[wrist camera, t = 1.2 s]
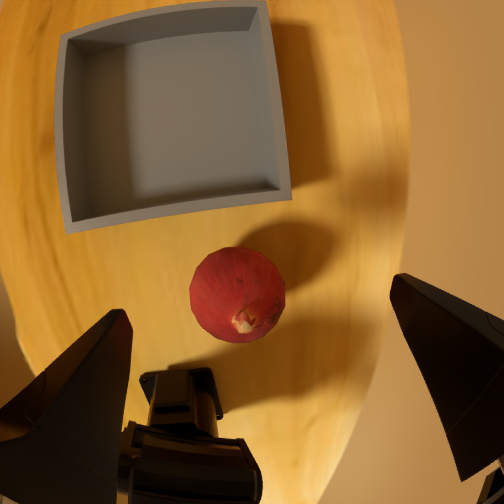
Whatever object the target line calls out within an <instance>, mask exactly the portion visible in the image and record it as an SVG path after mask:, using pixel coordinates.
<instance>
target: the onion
mask: <svg viewBox="0 0 504 504" xmlns="http://www.w3.org/2000/svg"><path fill="white" fill-rule="evenodd" d="M189 292H190V305H191V310H192V312H193V314H194V315H195V317H196V319H197V321H198V322H199V324H200V326H201V327H202V328H203V329H204V330H206V331H207V332H208V333H210V334H211V335H212V336H214V337H215V338H217V339H220V340H223V341H227V342H230V343H249V342H251V341H254V340H257V339H259V338H262V337H264V336H265V335H266V334H267V333H268V332H269V331H270V330H271V329H272V328H273V327H274V326H275V325H276V324H277V322H278V320H279V318H280V316H281V314H282V312H283V310H284V308H285V283H284V281H283V279H282V277H281V275H280V273H279V271H278V269H277V267H276V266H275V265H274V264H273V263H272V262H271V261H270V260H269V259H268V258H266V257H265V256H264V255H263V254H262V253H260V252H257V251H253V250H250V249H247V248H244V247H225V248H222V249H220V250H218V251H215V252H213V253H211V254H209V255H208V256H207V257H206V258H205V259H204V260H203V261H202V262H201V263H200V265H199V266H198V267H197V268H196V271H195V273H194V276H193V279H192V282H191V285H190V287H189Z"/></svg>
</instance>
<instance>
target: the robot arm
mask: <svg viewBox="0 0 504 504" xmlns="http://www.w3.org/2000/svg"><path fill="white" fill-rule="evenodd" d="M390 301H391V304H392V306H393V309H394V311H395V313H396V316H397V319H398V322H399V324H400V327H401V330H402V332H403V335H404V337H405V339H406V341H407V343H408V345H409V348H410V350H411V352H412V354H413V356H414V358H415V360H416V362H417V365H418V367H419V369H420V371H421V373H422V376H423V378H424V380H425V383H426V385H427V387H428V390H429V392H430V394H431V397H432V399H433V401H434V404H435V407H436V409H437V412H438V414H439V417H440V419H441V422H442V425H443V427H444V430H445V433H446V436H447V439H448V442H449V445H450V448H451V451H452V454H453V457H454V460H455V463H456V467H457V470H458V474H459V477H460V480H461V482H463V481H465V480H467V479H468V478H470V477H471V476H473V475H475V474H476V473H478V472H479V471H481V470H482V469H484V468H485V467H487V466H488V465H490V464H491V463H493V462H494V461H495V460H497V461H498V463H499V465H500V466H499V467H498V468H497V469H495V470H494V471H493V472H491V473H490V474H489V475H487V476H486V479H485V482H484V485H483V488H482V491H481V493H480V496H479V499H478V501H477V504H504V320H502V319H500V318H498V317H496V316H494V315H492V314H490V313H488V312H485V311H484V310H482V309H480V308H478V307H476V306H474V305H472V304H470V303H468V302H466V301H464V300H462V299H459V298H458V297H456V296H454V295H451V294H449V293H447V292H445V291H443V290H441V289H439V288H437V287H435V286H433V285H430V284H428V283H426V282H424V281H422V280H419V279H417V278H415V277H413V276H411V275H409V274H407V273H401V274H396V275H395V276H394V277H393V281H392V286H391V290H390ZM132 340H133V329H132V326H131V323H130V321H129V319H128V317H127V314H126V312H125V311H124V310H123V309H112V310H110V311H109V312H108V313H107V314H106V315H105V316H103V317H102V318H101V319H100V320H99V321H98V322H97V323H95V324H94V325H93V326H92V327H91V328H90V329H89V330H87V331H86V332H85V333H84V334H83V335H82V336H81V337H80V338H78V339H77V340H76V341H75V342H74V343H73V344H72V345H71V346H70V347H68V348H67V349H66V350H65V351H64V352H63V353H62V354H61V355H60V356H59V357H58V358H56V359H55V360H54V361H53V362H52V363H51V364H50V365H49V366H48V367H47V368H46V369H45V370H44V371H42V372H41V373H40V374H39V375H38V376H37V377H36V378H35V379H34V380H33V381H32V382H31V383H30V384H29V385H28V386H26V387H25V388H24V389H23V390H22V391H21V392H20V393H19V394H17V395H16V396H15V397H14V398H12V399H11V400H10V401H9V402H8V403H6V404H5V405H4V406H3V407H2V408H0V504H116V499H117V491H118V493H119V494H123V495H128V504H259V503H260V500H261V497H262V490H263V481H262V475H261V471H260V468H259V466H258V464H257V463H256V461H255V459H254V457H253V455H252V454H251V452H250V450H249V448H248V446H247V444H246V442H245V440H244V439H242V438H236V439H227V438H219V436H218V428H217V420H221V419H222V418H223V412H222V408H221V404H220V400H219V396H218V392H217V388H216V384H215V380H214V376H213V371H212V370H211V369H210V368H200V369H192V370H182V371H173V372H163V373H153V374H143V375H141V376H140V379H139V382H140V384H141V387H142V389H143V391H144V394H145V396H146V398H147V400H148V403H149V405H150V409H149V416H148V423H147V426H145V425H141V424H137V423H136V422H134V421H130V420H129V422H128V426H127V428H126V427H125V428H124V431H123V432H121V430H122V422H123V415H124V407H125V400H126V394H127V388H128V382H129V375H130V366H131V351H132ZM205 373H209V374H205ZM143 379H146V380H147V381H145V380H143ZM217 415H219V416H217Z"/></svg>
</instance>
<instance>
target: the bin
mask: <svg viewBox="0 0 504 504" xmlns="http://www.w3.org/2000/svg"><path fill="white" fill-rule="evenodd" d="M54 127H55V153H56V166H57V177H58V186H59V194H60V202H61V208H62V215H63V221H64V226H65V232H66V235H67V234H71V233H76V232H81V231H86V230H91V229H96V228H102V227H107V226H112V225H118V224H123V223H129V222H135V221H140V220H146V219H152V218H159V217H165V216H171V215H178V214H184V213H191V212H198V211H205V210H212V209H220V208H227V207H235V206H243V205H251V204H260V203H268V202H277V201H287V200H292V193H291V181H290V171H289V161H288V151H287V142H286V133H285V124H284V116H283V108H282V100H281V92H280V85H279V77H278V70H277V63H276V57H275V50H274V44H273V38H272V31H271V25H270V20H269V14H268V8H267V3H266V1H258V0H227V1H207V2H195V3H186V4H178V5H171V6H164V7H158V8H153V9H147V10H142V11H138V12H133V13H129V14H125V15H121V16H117V17H113V18H110V19H106V20H103V21H99V22H96V23H93V24H90V25H87V26H84V27H81V28H78V29H76V30H73V31H70V32H68V33H65V34H63V35H61V37H60V44H59V51H58V60H57V70H56V83H55V108H54Z"/></svg>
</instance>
